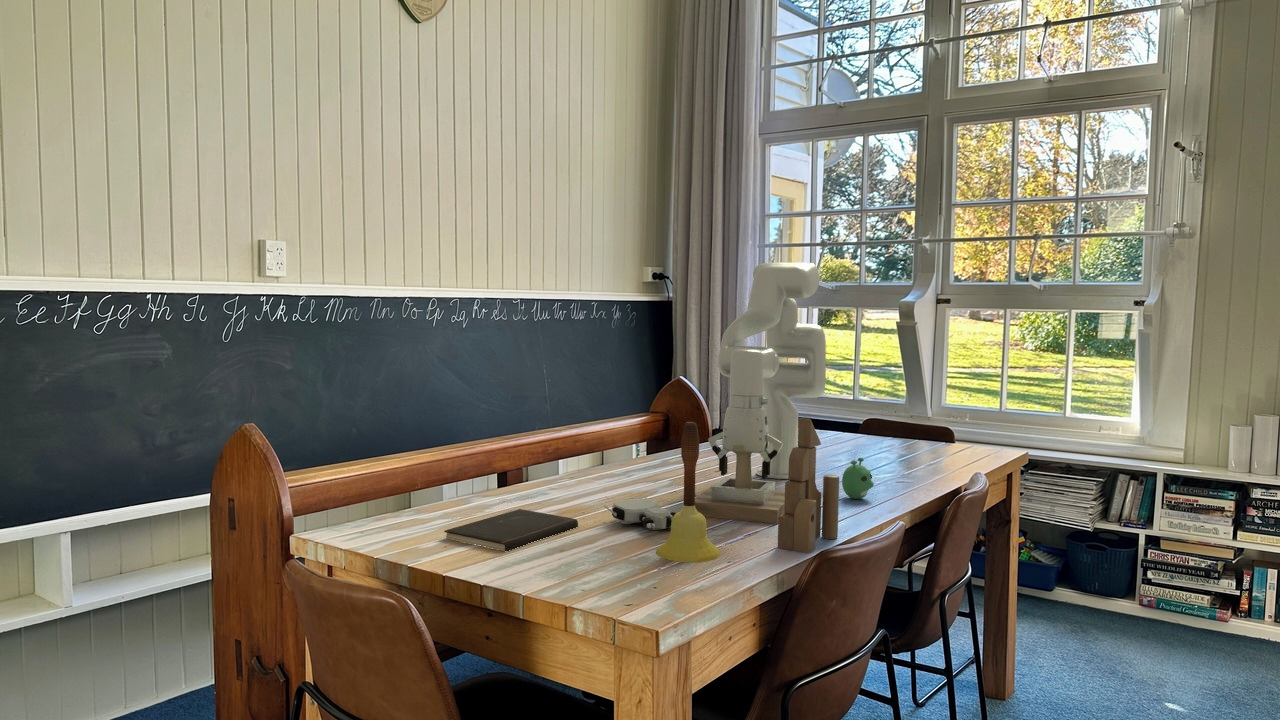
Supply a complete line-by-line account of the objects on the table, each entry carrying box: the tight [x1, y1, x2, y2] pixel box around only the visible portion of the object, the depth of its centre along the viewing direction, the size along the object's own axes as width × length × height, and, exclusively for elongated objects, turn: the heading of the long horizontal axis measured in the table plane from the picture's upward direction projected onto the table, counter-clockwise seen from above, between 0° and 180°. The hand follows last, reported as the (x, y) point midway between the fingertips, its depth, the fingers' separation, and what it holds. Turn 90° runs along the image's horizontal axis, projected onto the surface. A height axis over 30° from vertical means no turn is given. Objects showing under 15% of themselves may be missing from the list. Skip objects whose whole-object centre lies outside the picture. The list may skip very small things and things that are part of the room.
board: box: [695, 486, 785, 525], centre depth 204 cm, size 20×20×3 cm
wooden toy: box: [777, 417, 840, 554], centre depth 176 cm, size 15×7×25 cm, turn 145°
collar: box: [711, 477, 776, 505], centre depth 204 cm, size 12×12×3 cm
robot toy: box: [603, 497, 677, 531], centre depth 189 cm, size 12×4×15 cm
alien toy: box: [841, 457, 875, 500], centre depth 217 cm, size 7×8×10 cm
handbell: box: [655, 421, 722, 563], centre depth 167 cm, size 12×12×25 cm
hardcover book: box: [443, 508, 579, 552], centre depth 180 cm, size 16×23×2 cm
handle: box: [731, 446, 753, 489], centre depth 204 cm, size 5×6×15 cm
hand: (744, 476), depth 204 cm, fingers open, 9 cm apart
